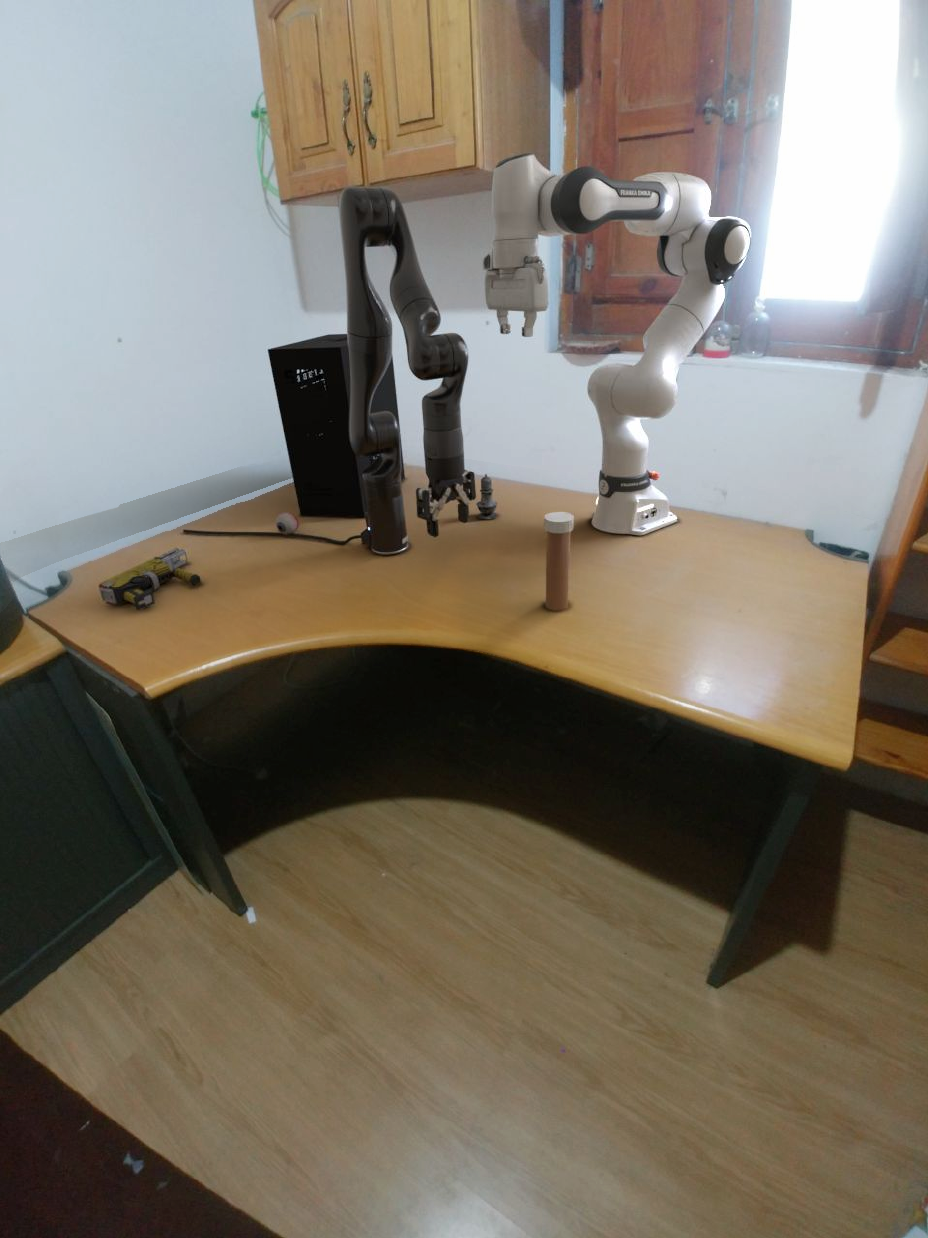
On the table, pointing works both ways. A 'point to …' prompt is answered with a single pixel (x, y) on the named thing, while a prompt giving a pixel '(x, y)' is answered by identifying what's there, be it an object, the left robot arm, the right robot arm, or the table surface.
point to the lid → (559, 522)
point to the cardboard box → (324, 424)
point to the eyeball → (287, 523)
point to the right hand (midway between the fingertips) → (516, 335)
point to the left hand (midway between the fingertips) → (448, 528)
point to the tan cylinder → (557, 570)
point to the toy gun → (146, 580)
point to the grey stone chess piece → (486, 500)
